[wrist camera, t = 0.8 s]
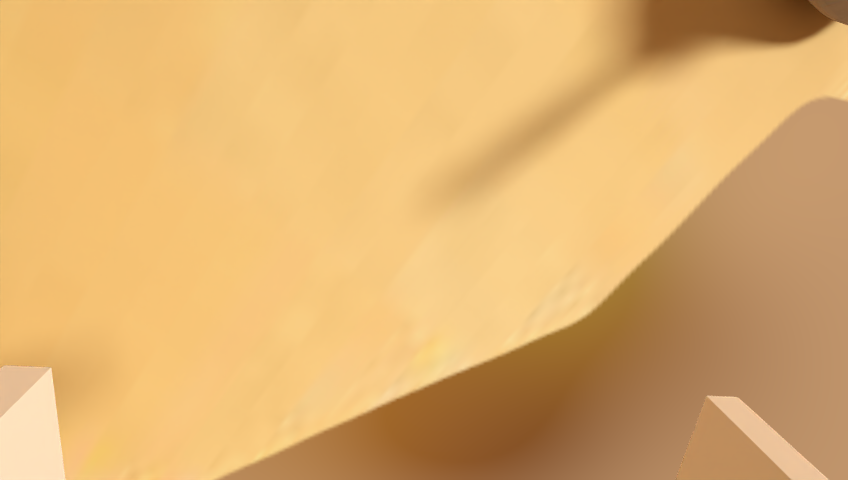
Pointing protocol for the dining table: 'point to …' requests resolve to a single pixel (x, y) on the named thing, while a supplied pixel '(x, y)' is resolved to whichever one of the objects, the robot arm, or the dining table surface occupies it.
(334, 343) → the dining table surface
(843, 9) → the coffee pot
